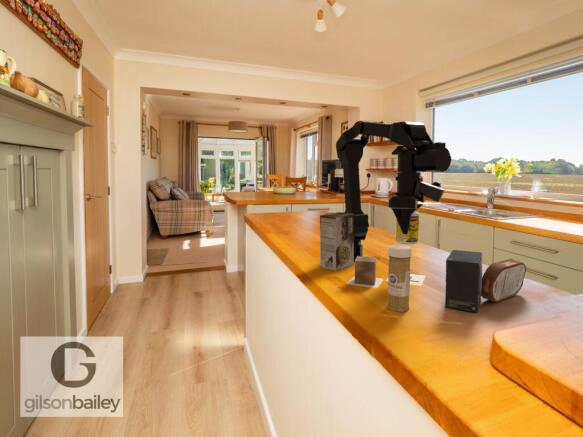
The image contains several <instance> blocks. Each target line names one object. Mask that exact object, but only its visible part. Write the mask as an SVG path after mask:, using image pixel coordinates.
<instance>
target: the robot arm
mask: <svg viewBox="0 0 583 437" xmlns="http://www.w3.org/2000/svg"><path fill="white" fill-rule="evenodd" d="M359 135H361V136H360V137H359ZM370 136H371V137H372V136H373V137H379V138H385V139H388V140H389V141H390V142H392V143H394V144H397V146H396V148H395V149H394V150H393V151H392V152H391V155H392V156H397V168H396V169H397V171H396V172H397V173H396V176H395V180H394V181H396V192H395V193H394V195H393V196H391V197H389V199H388V208H390V209H391V211H392V212H393V214H394V217H395V218H396V222H397V221H398V223H399V226H400V228H401V231H402V233H403V234H408V230H409V225H410V220H411V215H412V213H413V212H415V211H416V212H418V210H419V209H420V208H421V207H422V206H423V205H424V203H425V202H426V198H428V199H431V200H432V201H434V202H436V203H439V202H440V201H441V199H442V197H443V195H444V192H445V190H446V189H444V188H442V184H441V182H438V181H433V182H432V183H429V182H425V181H424V177H423V176H422V174H421V173H443V172H446V171H448V169H449V168H450V167H451V163H452V156H451V153H450V151H449V149H448V148H447V147H446V145H447V144H446V142H443V141H442V142H441V141H439V142H437V141H436V142H434V141H433V139H432V138H431V136H430V134H429V133H428V132H427V129H426V125H425V124H424V123H422V122H414V121H398V122H392V123H385V122H384V123H383V122H374V121H370V120H358V121H356V122H355V123H354V124H353V125H352V127H350V128H349V129H347V130H345V131H344V132H342V133H341V135H340V137H339V138H338V139H337V141H336V142H335V149H336V154H337V155H336V156H337V158H338V160H339V162H340V163H341V165H342V172H343V175H342V176H343V191H344V204H345V205H344V206H345V210H344V212H343V213H349V214H354V262H355V260H356V258H357V256H363V248H364V246H363V244H362V241H365V240H366V238H367V234H368V231H369V227H370V224H369V215H368V214H367V213H365V212H364V211H363V210H362V200H361V198H362V196H361V183H360V165H359V164H360V163H361V160H362V158H363V156H364V148H365V147H366V146H367V145H368V144H369V140H370ZM419 202H421V203H419ZM363 257H364V256H363Z"/></svg>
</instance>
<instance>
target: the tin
mask: <svg viewBox="0 0 583 437" xmlns="http://www.w3.org/2000/svg"><path fill="white" fill-rule="evenodd" d="M526 271H527V267H526V264H525V263H524V262H522V261H520V260H515V259H514V258H509V259H504V260H500V261H496V262H493V263H491V264H490V265H488V266H487V268H486V269H485V270H484V273H482V288H481V298H482V299H485V300H488V301H491V302H493V303H499V302H501V301H504V300H506V299H509V298H512V297H515V295H516V296H517V294H518V293H519V292H520V291H521V289H522V287H523V285H524V281H525V280H524V279H525V276H526V273H527V272H526Z"/></svg>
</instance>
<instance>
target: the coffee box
mask: <svg viewBox="0 0 583 437" xmlns="http://www.w3.org/2000/svg"><path fill="white" fill-rule="evenodd" d="M319 235H320V236H319V240H320V241H319V246H320V247H319V251H320V253H319V254H320V255H319V256H320V259H319V260H320V268H324V269H327V270H331V271H334V272H335V271H336V272H337V271H340V270H343V269H346V268H348V267H351V266H353V265H355V261H354V214H349V213H344V212H341V211H337V212H331V213H325V214H319Z"/></svg>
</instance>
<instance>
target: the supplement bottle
mask: <svg viewBox="0 0 583 437" xmlns="http://www.w3.org/2000/svg"><path fill="white" fill-rule="evenodd" d="M419 224H420V213H419V212H418V211H415V212H413V213H412V215H411V220H410V225H409V230H408V234H403V233H402V231H401V228H400V226H399V223H398V221H397V220H396V228H395V231H396V232H395V233H396V234H395V241H396V243H397V244H399V245H407V246H410V245H411V246H412V245H416V244H418V243H419V228H420V225H419Z"/></svg>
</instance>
